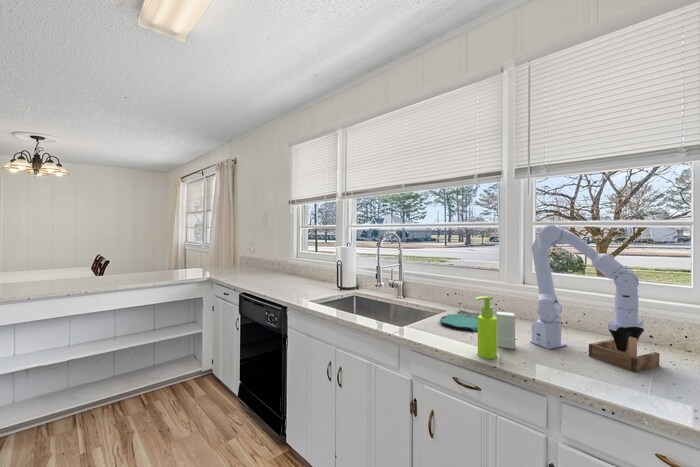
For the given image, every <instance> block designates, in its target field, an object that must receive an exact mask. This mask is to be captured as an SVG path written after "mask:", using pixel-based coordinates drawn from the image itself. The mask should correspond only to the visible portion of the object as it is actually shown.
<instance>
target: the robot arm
mask: <svg viewBox="0 0 700 467" xmlns="http://www.w3.org/2000/svg"><path fill="white" fill-rule="evenodd" d="M557 243H558V244H563V245H569V246H571V247H573V248H574V249H575V250H577V251H578V252H579V253H580V254H582V255H584V256H585V257H587V258H588V259H589V260H591V266H592V267H593V268H595V269H596V270H597V271H598V272H600V273H601V274H603V276H605V277H607V278H608V279H609V280H613V283H614V285H615V293H614V319H613V320H612V321H611V322H608V323H607V329H608V331H609V332H610V334H611V336H612V337H613V340H614V341H615V344H616V348H617V350H620V351H623V352H625V351H626V349H627V342H628V339H629V336H630V337H634V338H637V342H638V341H639V339H640V337H641V336H642V334H643V333H644V332H645V328H643V326H644V323H645V322H644V319H641V318H639V294H638V292H639V289H638V287H639V284H640V282H639V281H640V280H639V277H638V275H637V274H636V273H635V272H634V270H632V269H630V267H628V266H627V265H623V264H622V263H620V262H619V261H617V259H615V256H614V255H612V254H610V255H609V254H608V253H599V252H598V251H597V250H595V249H594V248H593V247H592V246H591V245H589V244H588V243H586V242H585V241H584V240H583V239H582V238H580V237H579V236H578V235H576V234H575V233H573V232H572V231H571V230H568V229H566V228H564V227H563V226H562V225H559V224H548V225H546V226H544V227H542V228H541V229H540V230H539V231H538V232H537V235H536V237H535V239H534V242H533V244H532V245H531V253H532V259H533V266H534V270H535V278H536V283H537V288H538V295H539V296H538V301H537V302H538V306H537V308H536V312H537V315H538V318H537V320H536V321H534V322H533V323H532V324H531V339H530V340H529V342H530V343H532V344H535V345H537V346H540V347H542V348H545V349H548V350H549V349H556V348H560V347H561V348H562V347H566V346H568V344H567V343H565V342H563V341H562V319H561V317H560V315H561V314H562V311H563V307H562V304H561V303H560V302H559V301H558V300H559V299H558V296H557V294H556V292H555V286H554V280H553V275H552V274H553V273H552V270H551V264H550V258H549V252H548V251H549V250H550V249H551V248H552V247H553V246H554V245H555V244H557Z"/></svg>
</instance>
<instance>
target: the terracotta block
mask: <svg viewBox="0 0 700 467" xmlns="http://www.w3.org/2000/svg"><path fill="white" fill-rule="evenodd" d="M615 352H618V353H621V354H625V355H628V356H631V357H637V356H638V341H637V338H634V337H630V336H629V339H628V342H627V349H626V351H625V352H623V351H620V350H617V348H616V344H615Z"/></svg>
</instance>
